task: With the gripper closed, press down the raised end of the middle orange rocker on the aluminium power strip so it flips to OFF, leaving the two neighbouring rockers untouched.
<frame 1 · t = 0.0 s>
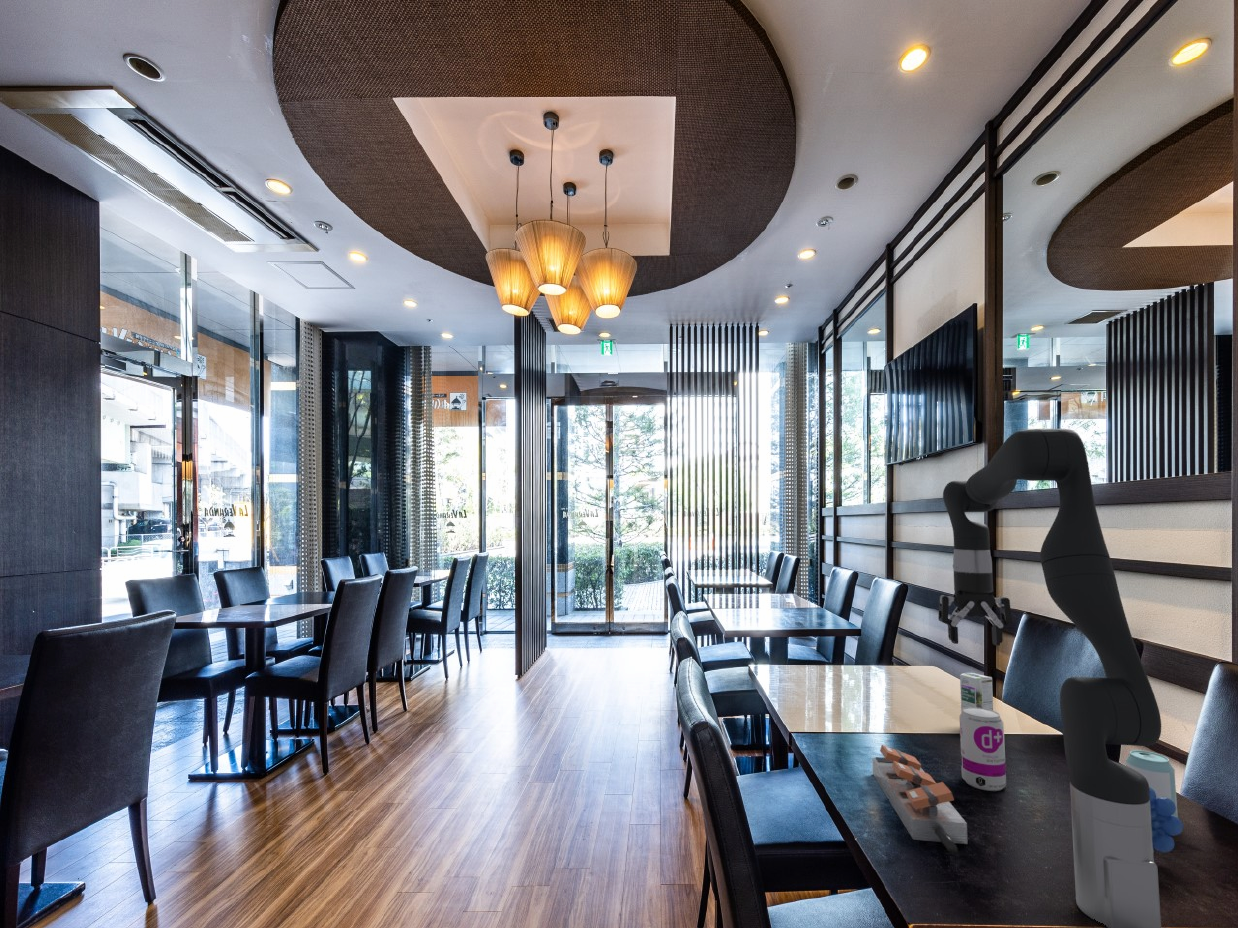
hand: (975, 643, 135), 29 cm above the table, tool pointing down, fingers open, 8 cm apart
rocker 2: (913, 775, 122), point 6 cm above the table, hinge at 18.0°
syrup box: (977, 730, 165), on the table
supplement can: (983, 784, 132), on the table
rocker 3: (900, 757, 131), point 6 cm above the table, hinge at 18.0°
can: (1153, 821, 116), on the table
grapes: (1139, 856, 104), on the table
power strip: (914, 804, 122), on the table
rocker 1: (929, 795, 113), point 6 cm above the table, hinge at -18.0°
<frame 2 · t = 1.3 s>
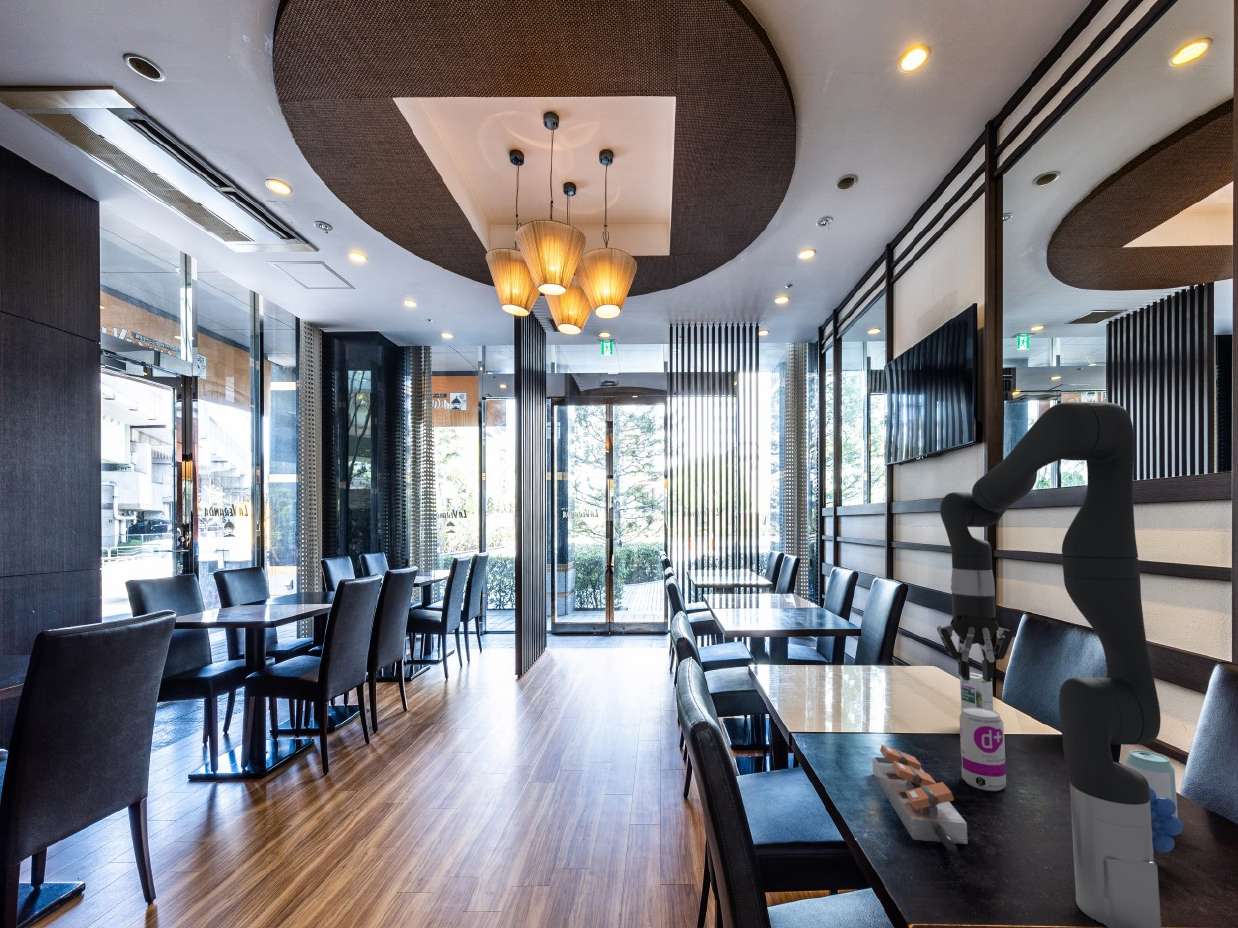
hand: (976, 679, 121), 25 cm above the table, tool pointing down, fingers open, 3 cm apart
nothing on the table moved.
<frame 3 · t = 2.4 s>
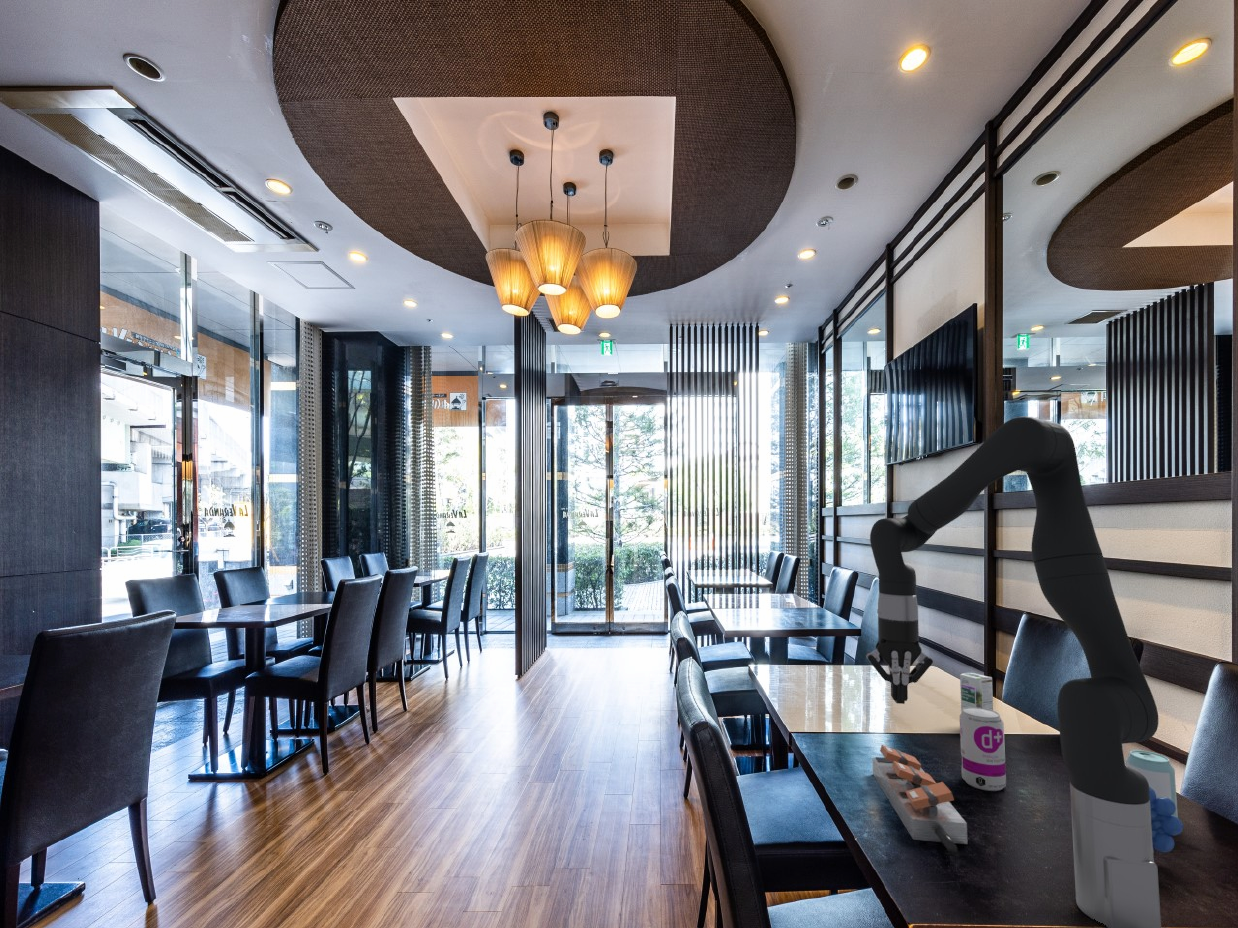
hand: (899, 702, 124), 20 cm above the table, tool pointing down, fingers closed
nothing on the table moved.
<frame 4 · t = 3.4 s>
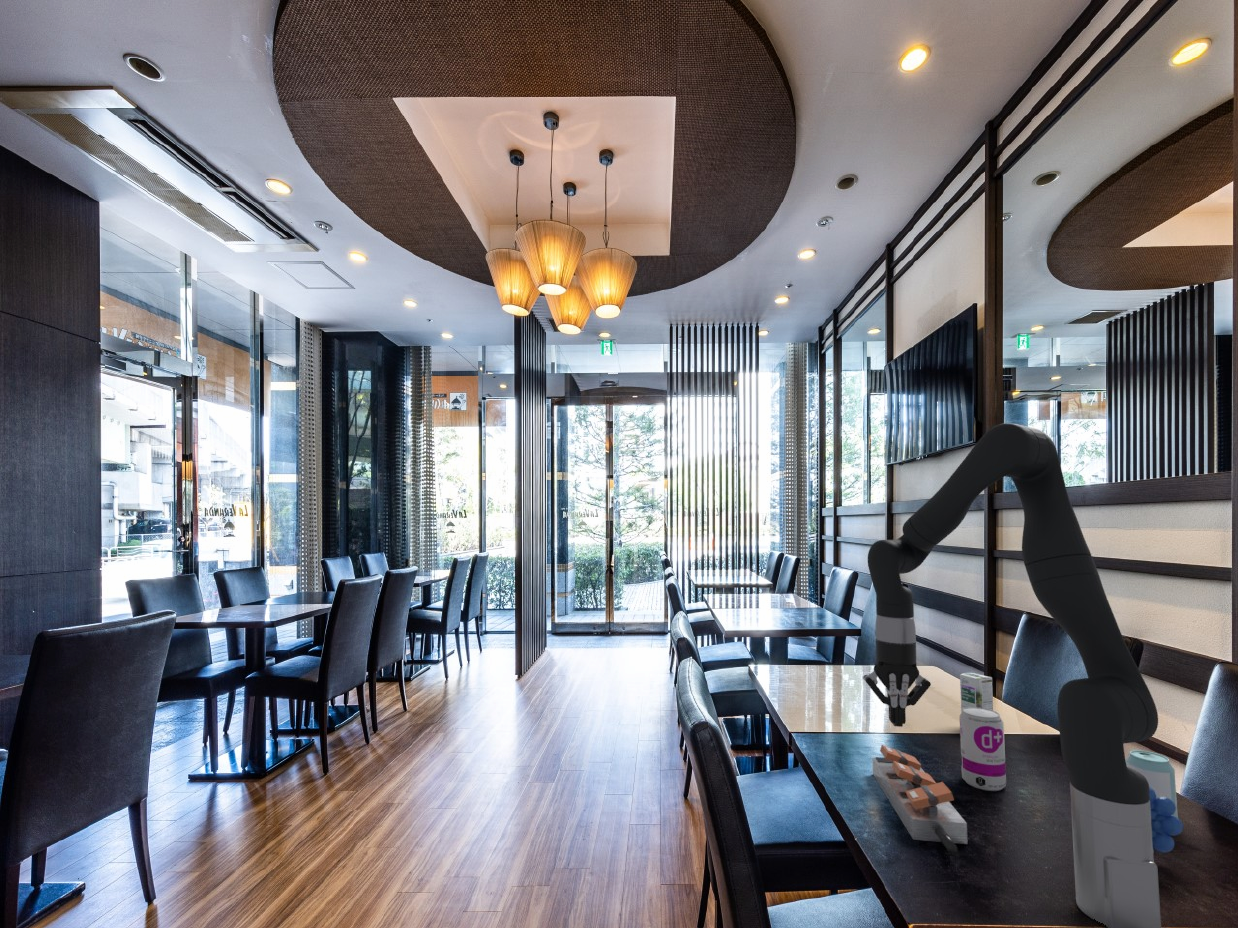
hand: (897, 725, 124), 15 cm above the table, tool pointing down, fingers closed
nothing on the table moved.
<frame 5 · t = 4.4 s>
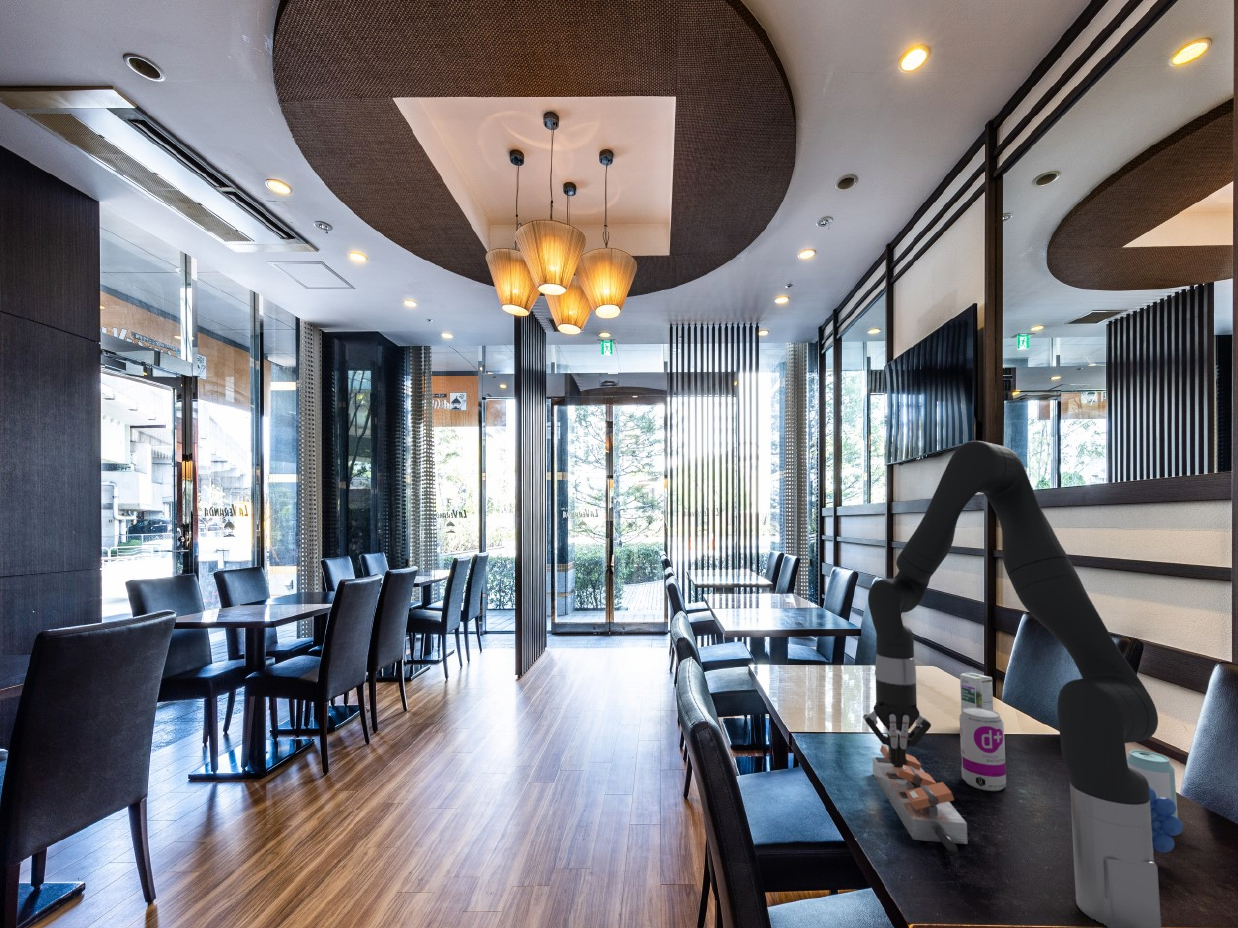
hand: (897, 765, 123), 7 cm above the table, tool pointing down, fingers closed
rocker 2: (913, 775, 122), point 6 cm above the table, hinge at 17.8°, touching gripper
everything else where it was.
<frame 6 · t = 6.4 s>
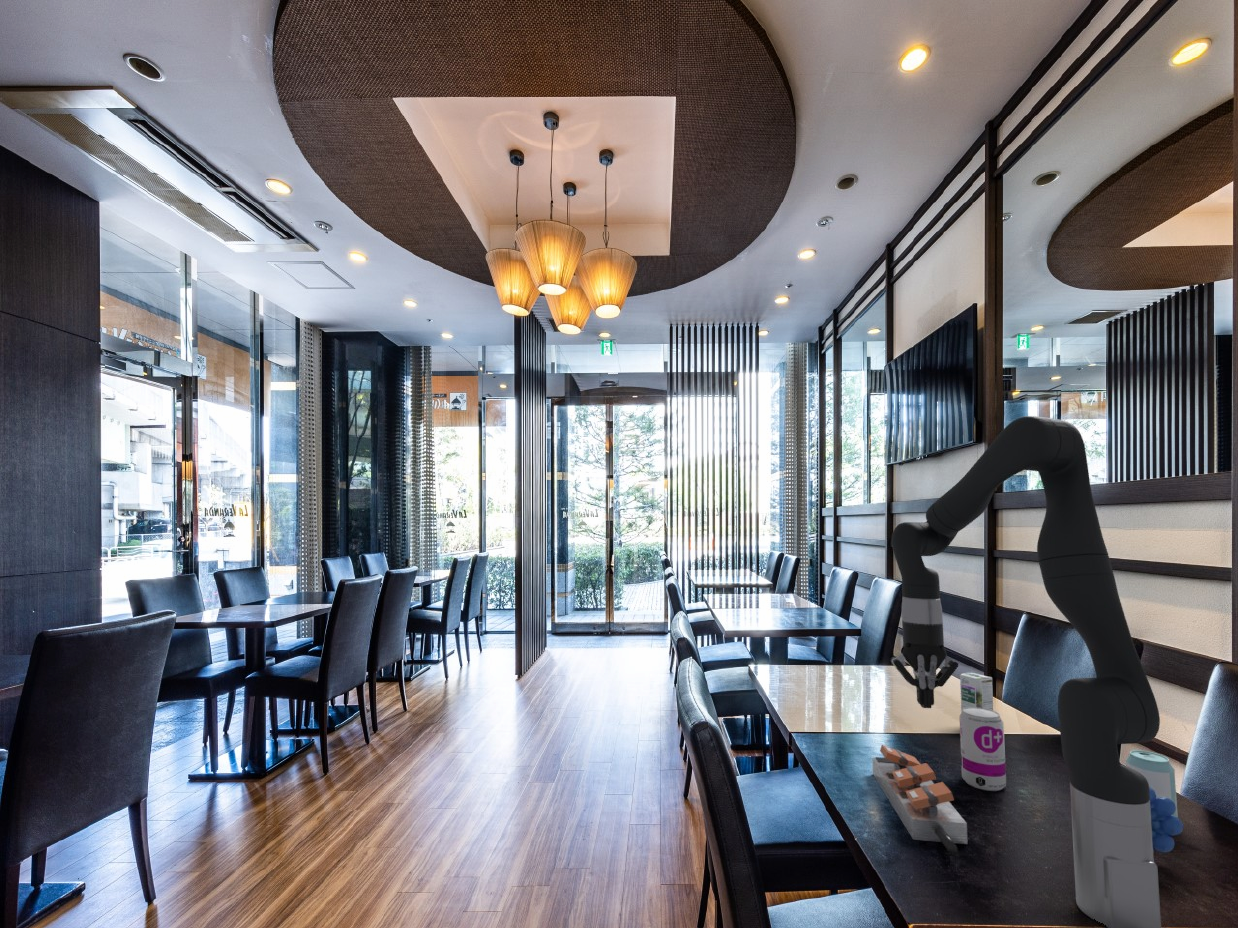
hand: (925, 706, 124), 19 cm above the table, tool pointing down, fingers closed
rocker 2: (913, 775, 122), point 6 cm above the table, hinge at -17.9°
everything else where it was.
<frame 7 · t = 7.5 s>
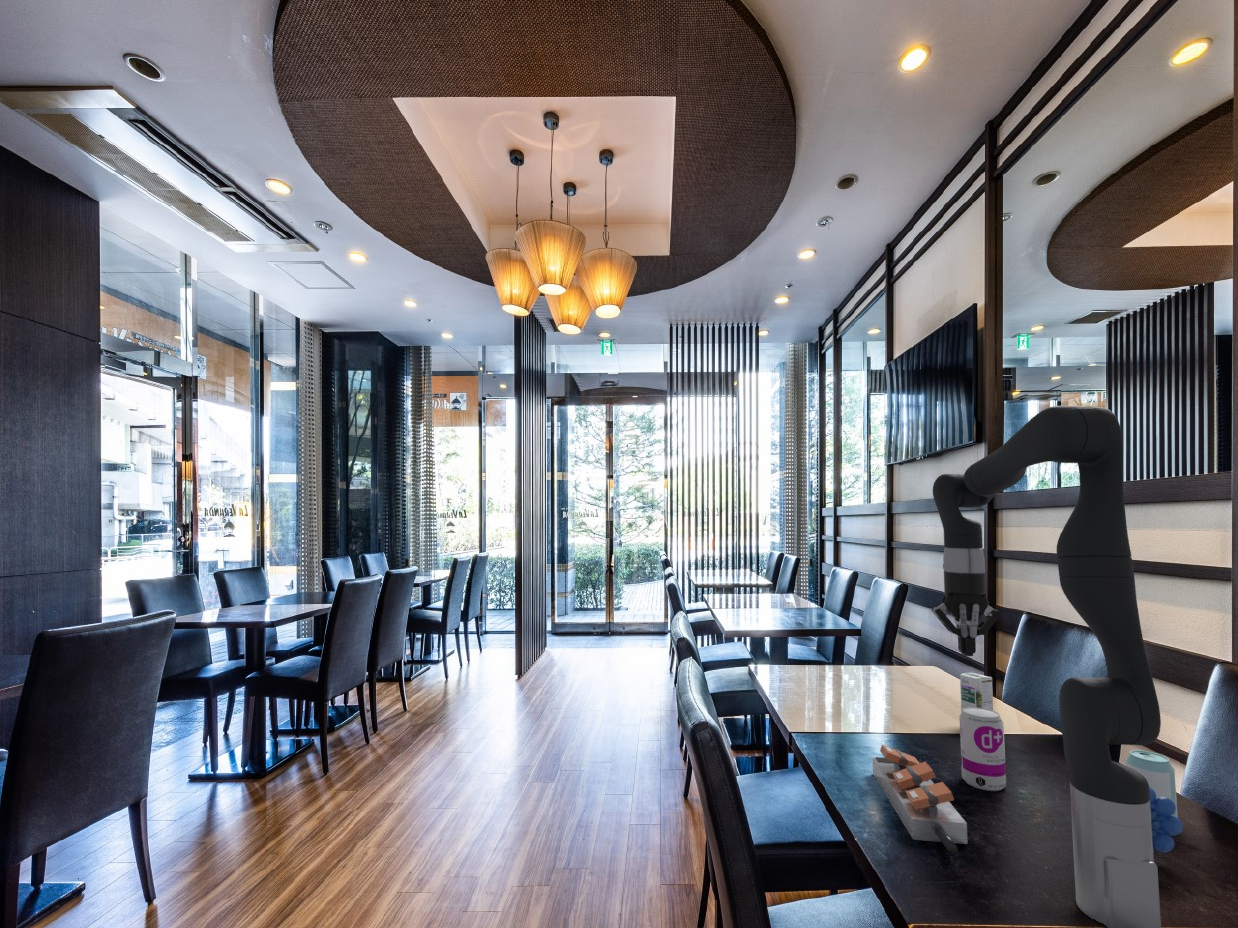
hand: (967, 655, 125), 29 cm above the table, tool pointing down, fingers closed
rocker 2: (913, 775, 122), point 6 cm above the table, hinge at -23.7°
everything else where it was.
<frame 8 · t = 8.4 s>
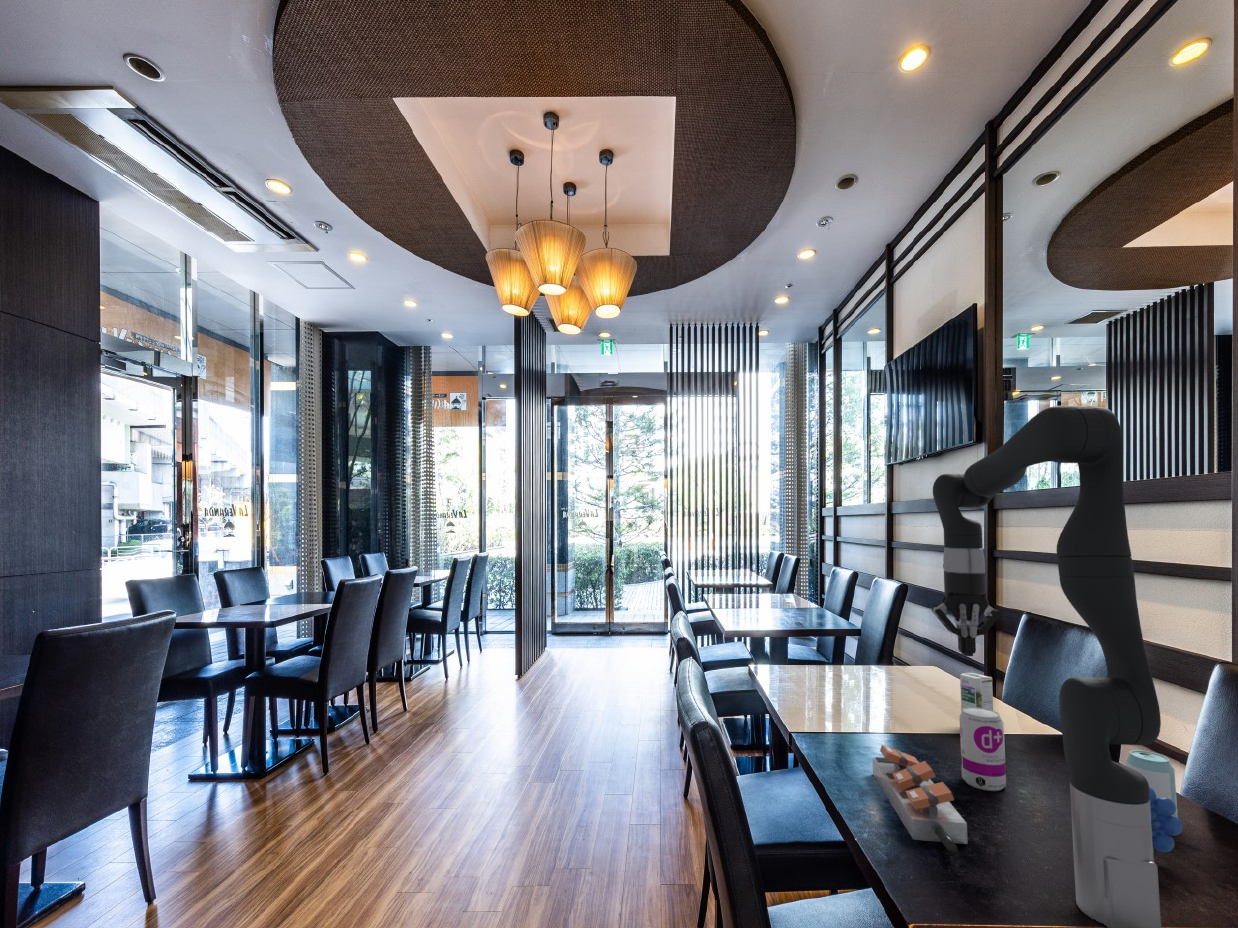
hand: (967, 655, 125), 29 cm above the table, tool pointing down, fingers closed
rocker 2: (913, 775, 122), point 6 cm above the table, hinge at -25.9°
everything else where it was.
at the end: rocker 2 at -26° (first picture: +18°); rocker 3 at +18° (first picture: +18°); rocker 1 at -18° (first picture: -18°) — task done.
